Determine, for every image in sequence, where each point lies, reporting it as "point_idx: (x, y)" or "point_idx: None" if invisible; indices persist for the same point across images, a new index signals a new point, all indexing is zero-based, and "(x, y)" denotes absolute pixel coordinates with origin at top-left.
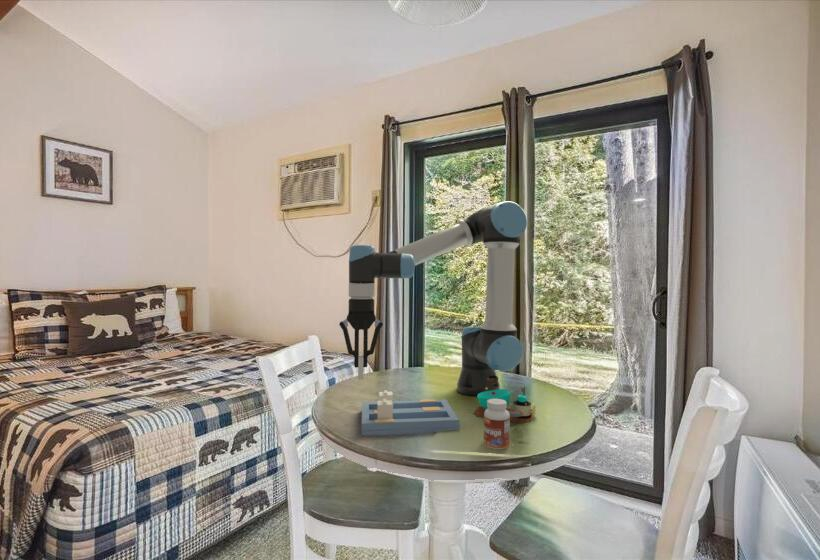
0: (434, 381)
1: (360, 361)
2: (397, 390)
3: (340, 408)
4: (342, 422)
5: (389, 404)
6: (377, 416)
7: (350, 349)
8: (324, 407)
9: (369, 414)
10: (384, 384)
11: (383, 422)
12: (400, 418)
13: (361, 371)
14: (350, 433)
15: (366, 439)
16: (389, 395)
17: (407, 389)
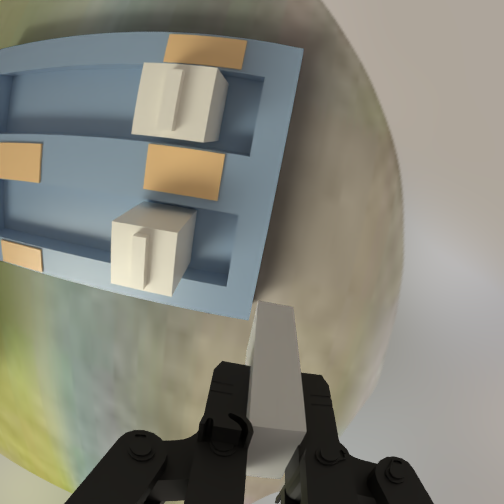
0: (46, 441)
1: (281, 395)
2: (122, 434)
3: (314, 357)
4: (342, 218)
5: (157, 65)
6: (217, 128)
7: (400, 501)
8: (358, 374)
9: (247, 156)
10: None
11: (212, 37)
12: (127, 138)
13: (270, 334)
14: (333, 96)
15: (287, 26)
16: (128, 224)
17: (97, 430)
